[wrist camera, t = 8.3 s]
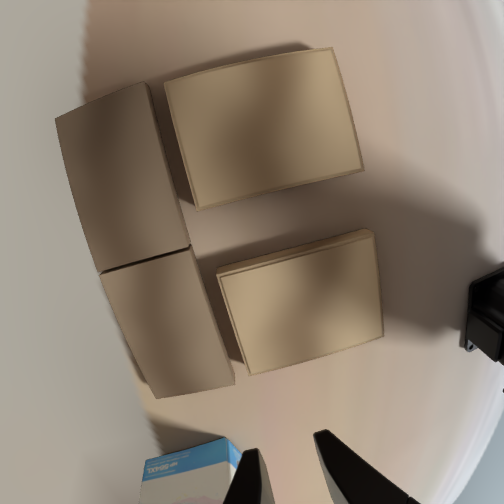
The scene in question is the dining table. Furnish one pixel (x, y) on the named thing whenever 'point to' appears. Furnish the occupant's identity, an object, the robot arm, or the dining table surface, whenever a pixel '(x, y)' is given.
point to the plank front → (263, 126)
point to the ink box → (191, 475)
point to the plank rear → (304, 301)
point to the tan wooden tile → (142, 242)
